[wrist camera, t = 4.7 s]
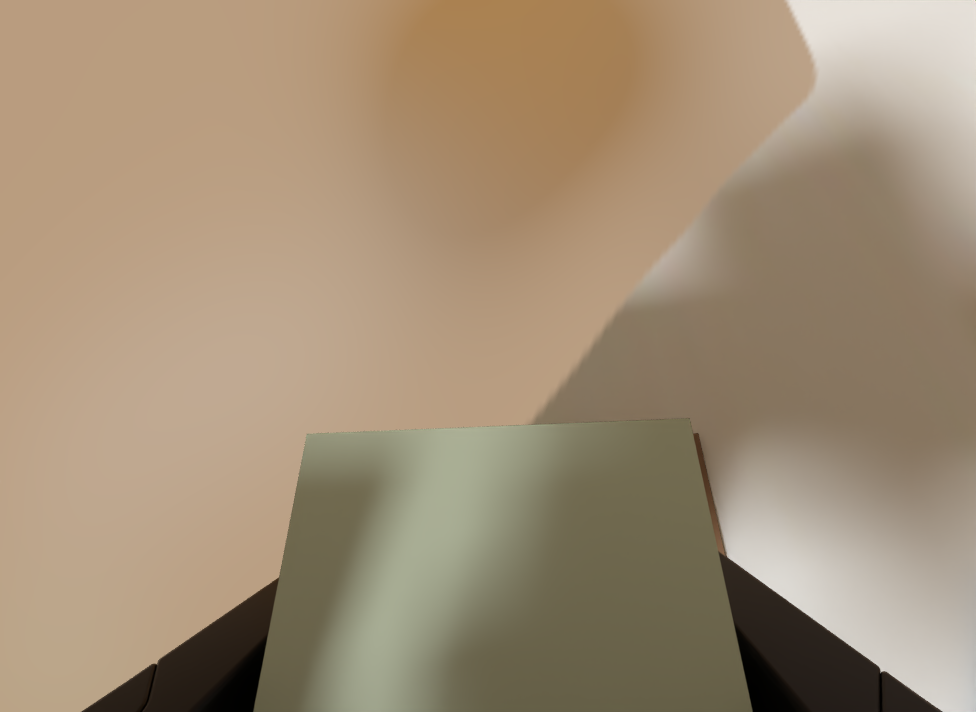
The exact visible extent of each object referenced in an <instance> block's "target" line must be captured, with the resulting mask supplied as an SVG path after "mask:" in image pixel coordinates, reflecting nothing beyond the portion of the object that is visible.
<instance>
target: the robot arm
mask: <svg viewBox="0 0 976 712" xmlns="http://www.w3.org/2000/svg"><path fill="white" fill-rule="evenodd" d="M718 553H719V557H720V562H721V567H722V571H723V576H724V581H725V585H726V590H727V595H728V599H729V604H730V608H731V613H732V618H733V622H734V627H735V632H736V636H737V641H738V646H739V650H740V655H741V660H742V664H743V669H744V674H745V678H746V683H747V688H748V692H749V697H750V702H751V706H752V711H753V712H942V711H941V710H939V709H938V708H936V707H935V706H934V705H932V704H931V703H929V702H928V701H926V700H925V699H924V698H922V697H921V696H919V695H918V694H916V693H915V692H914V691H912V690H911V689H909V688H908V687H907V686H905V685H904V684H903V683H901V682H900V681H898V680H897V679H896V678H894V677H893V676H891V675H890V674H889V673H887V672H885V671H883V672H881V674H880V668H879V667H878V666H877V665H876V664H874V663H873V662H872V661H870V660H869V659H868V658H866V657H865V656H863V655H862V654H861V653H859V652H858V651H856V650H855V649H854V648H852V647H851V646H849V645H848V644H847V643H845V642H844V641H843V640H841V639H840V638H838V637H837V636H836V635H834V634H833V633H831V632H830V631H829V630H827V629H826V628H825V627H823V626H822V625H820V624H819V623H818V622H816V621H815V620H813V619H812V618H811V617H809V616H808V615H806V614H805V613H804V612H802V611H801V610H800V609H798V608H797V607H795V606H794V605H793V604H791V603H790V602H788V601H787V600H786V599H784V598H783V597H782V596H780V595H779V594H777V593H776V592H775V591H773V590H772V589H770V588H769V587H768V586H766V585H765V584H763V583H762V582H761V581H759V580H758V579H757V578H755V577H754V576H752V575H751V574H750V573H748V572H747V571H745V570H744V569H743V568H741V567H740V566H739V565H737V564H736V563H734V562H733V561H732V560H730V559H729V558H727V557H726V556H725V555H723V554H722V553H721V552H719V551H718ZM278 581H279V578H277V579H276V580H274V581H273V582H272V583H270V584H269V585H267V586H266V587H264V588H263V589H261V590H260V591H258V592H257V593H256V594H254V595H253V596H251V597H250V598H248V599H247V600H245V601H244V602H242V603H241V604H239V605H238V606H236V607H235V608H234V609H232V610H231V611H229V612H228V613H226V614H225V615H223V616H222V617H220V618H219V619H217V620H216V621H215V622H213V623H212V624H210V625H209V626H207V627H206V628H204V629H203V630H202V631H200V632H198V633H197V634H195V635H194V636H193V637H191V638H190V639H189V640H187V641H185V642H184V643H182V644H181V645H179V646H178V647H177V648H175V649H174V650H172V651H171V652H169V653H168V654H166V655H165V656H164V657H162V658H161V659H159V660H158V663H157V664H151V665H150V666H149V667H147V668H146V669H144V670H143V671H141V672H140V673H139V674H137V675H136V676H134V677H133V678H131V679H130V680H128V681H127V682H126V683H124V684H122V685H121V686H119V687H118V688H116V689H115V690H113V691H112V692H110V693H109V694H107V695H106V696H104V697H103V698H101V699H100V700H98V701H97V702H96V703H94V704H93V705H91V706H89V707H88V708H86V709H85V710H83V711H82V712H253V711H254V706H255V700H256V695H257V690H258V685H259V680H260V674H261V669H262V664H263V659H264V654H265V649H266V643H267V638H268V633H269V628H270V623H271V617H272V612H273V607H274V602H275V597H276V591H277V586H278Z"/></svg>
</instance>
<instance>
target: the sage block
mask: <svg viewBox="0 0 976 712" xmlns="http://www.w3.org/2000/svg"><path fill="white" fill-rule="evenodd" d="M253 712H753V711H752V706H751V702H750V697H749V692H748V688H747V683H746V678H745V674H744V669H743V664H742V660H741V655H740V650H739V646H738V641H737V636H736V632H735V627H734V622H733V618H732V613H731V608H730V604H729V599H728V595H727V590H726V585H725V581H724V576H723V571H722V567H721V562H720V557H719V553H718V548H717V543H716V539H715V534H714V529H713V525H712V520H711V515H710V511H709V506H708V501H707V497H706V492H705V487H704V483H703V478H702V473H701V469H700V464H699V459H698V455H697V450H696V445H695V441H694V436H693V432H692V427H691V422H690V418H683V419H658V420H634V421H609V422H585V423H560V424H536V425H513V426H490V427H489V426H487V427H463V428H438V429H414V430H390V431H366V432H342V433H316V434H307V436H306V441H305V447H304V451H303V457H302V462H301V467H300V472H299V477H298V483H297V488H296V493H295V498H294V504H293V509H292V514H291V519H290V524H289V529H288V534H287V540H286V545H285V550H284V555H283V560H282V566H281V571H280V576H279V581H278V586H277V591H276V597H275V602H274V607H273V612H272V617H271V623H270V628H269V633H268V638H267V643H266V649H265V654H264V659H263V664H262V669H261V674H260V680H259V685H258V690H257V695H256V700H255V706H254V711H253Z"/></svg>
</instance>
